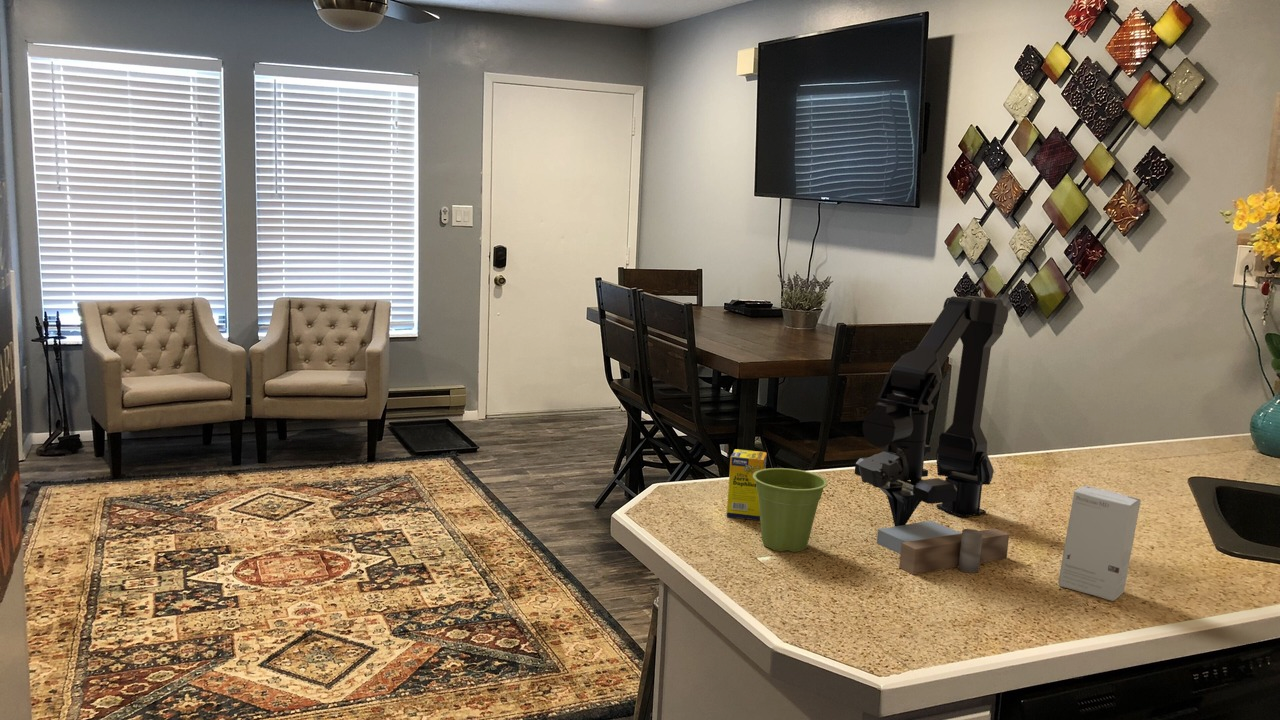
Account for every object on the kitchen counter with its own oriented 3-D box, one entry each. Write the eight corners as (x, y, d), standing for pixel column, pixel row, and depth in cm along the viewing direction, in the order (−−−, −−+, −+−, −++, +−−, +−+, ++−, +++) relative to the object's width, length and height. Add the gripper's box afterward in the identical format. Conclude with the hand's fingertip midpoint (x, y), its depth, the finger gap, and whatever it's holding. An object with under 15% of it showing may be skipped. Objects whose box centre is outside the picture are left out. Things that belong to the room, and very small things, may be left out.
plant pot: (739, 550, 156) (744, 481, 155) (758, 529, 167) (763, 464, 166) (813, 563, 152) (819, 493, 150) (828, 540, 163) (834, 474, 161)
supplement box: (760, 521, 172) (764, 459, 170) (725, 517, 173) (729, 456, 171) (763, 511, 177) (767, 451, 176) (729, 507, 179) (733, 448, 177)
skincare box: (1057, 586, 148) (1069, 490, 146) (1070, 576, 152) (1081, 483, 150) (1117, 603, 143) (1130, 503, 140) (1128, 592, 147) (1141, 495, 145)
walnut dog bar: (992, 551, 162) (996, 516, 161) (1021, 564, 157) (1025, 528, 156) (899, 567, 152) (902, 530, 151) (927, 581, 147) (931, 542, 146)
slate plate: (929, 537, 169) (930, 520, 169) (965, 552, 162) (967, 535, 162) (876, 546, 163) (877, 529, 163) (911, 563, 156) (913, 545, 156)
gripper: (833, 428, 168) (826, 516, 171) (910, 455, 152) (900, 552, 155) (884, 424, 173) (876, 510, 176) (963, 450, 157) (953, 544, 160)
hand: (899, 528), depth 166 cm, fingers closed
